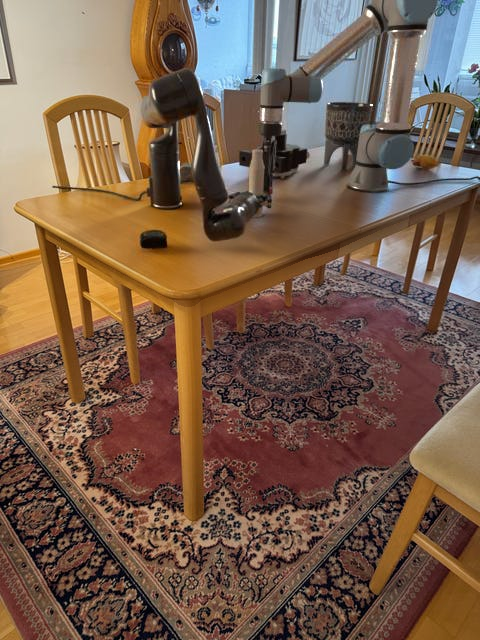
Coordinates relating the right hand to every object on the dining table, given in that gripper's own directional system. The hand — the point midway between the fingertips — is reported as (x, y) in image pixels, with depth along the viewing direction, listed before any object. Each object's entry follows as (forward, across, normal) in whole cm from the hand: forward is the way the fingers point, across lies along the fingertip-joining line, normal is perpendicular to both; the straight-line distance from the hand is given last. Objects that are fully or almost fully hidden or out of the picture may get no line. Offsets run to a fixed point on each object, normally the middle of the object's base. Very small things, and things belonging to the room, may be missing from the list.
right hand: (266, 193), depth 160 cm
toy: (+1, -76, +60) cm, 97 cm away
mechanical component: (+2, -42, -2) cm, 42 cm away
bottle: (+2, +20, 0) cm, 20 cm away
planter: (+2, -65, +22) cm, 69 cm away
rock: (+2, -16, -34) cm, 38 cm away
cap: (-2, 0, 0) cm, 2 cm away
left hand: (-4, +17, 0) cm, 18 cm away
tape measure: (+2, +56, -18) cm, 59 cm away
